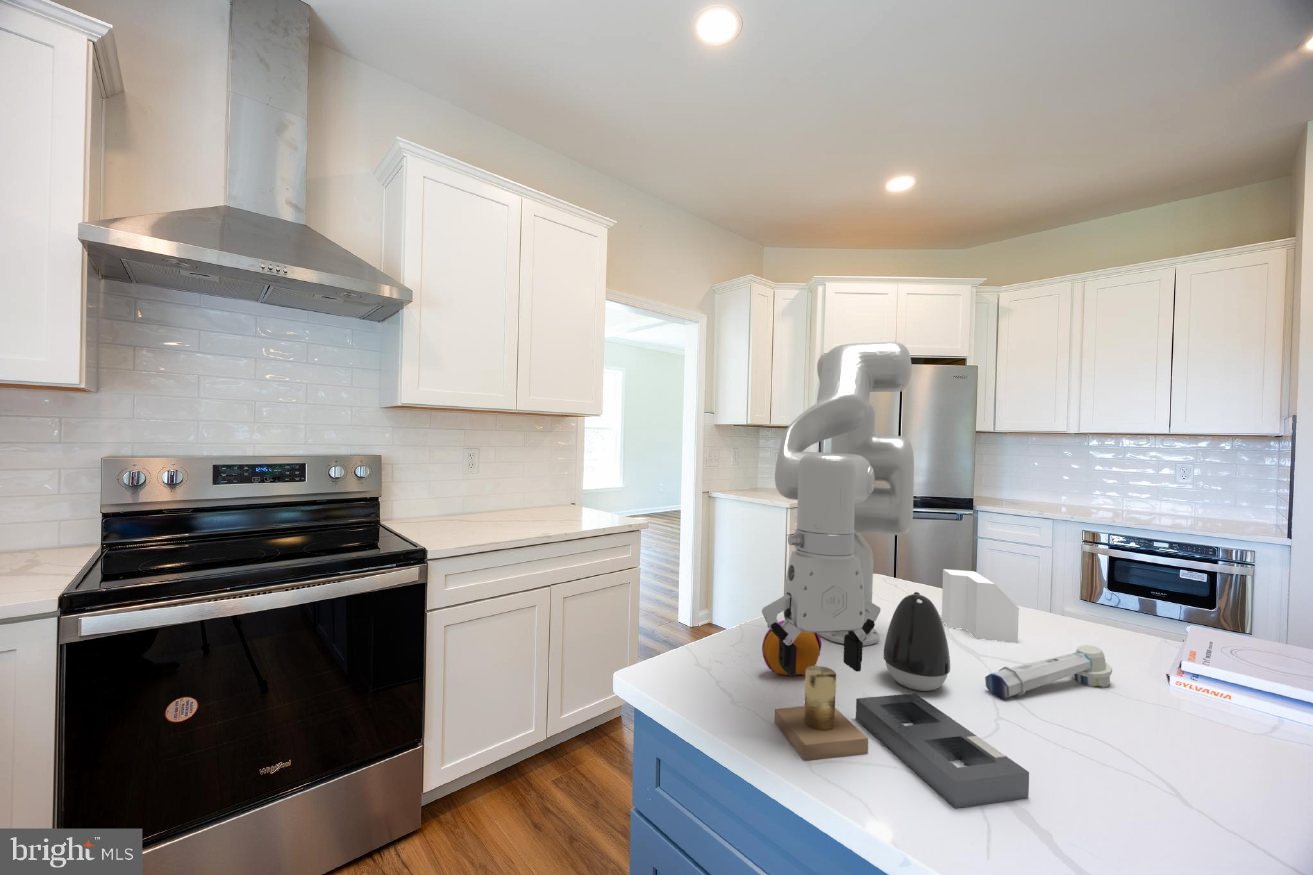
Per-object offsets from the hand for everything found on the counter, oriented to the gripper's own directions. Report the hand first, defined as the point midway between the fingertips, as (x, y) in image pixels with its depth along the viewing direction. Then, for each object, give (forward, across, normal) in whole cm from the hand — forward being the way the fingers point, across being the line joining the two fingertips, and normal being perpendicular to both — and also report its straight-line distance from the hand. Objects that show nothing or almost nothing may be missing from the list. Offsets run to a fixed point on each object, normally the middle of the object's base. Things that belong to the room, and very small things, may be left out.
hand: (820, 669), depth 72 cm
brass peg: (+8, 0, +1) cm, 8 cm away
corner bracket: (+8, +58, +33) cm, 67 cm away
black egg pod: (+9, +26, +13) cm, 30 cm away
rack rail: (+10, +14, -5) cm, 17 cm away
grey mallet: (+9, +48, +8) cm, 50 cm away
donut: (+9, +6, +19) cm, 22 cm away
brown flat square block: (+10, 0, +1) cm, 10 cm away
